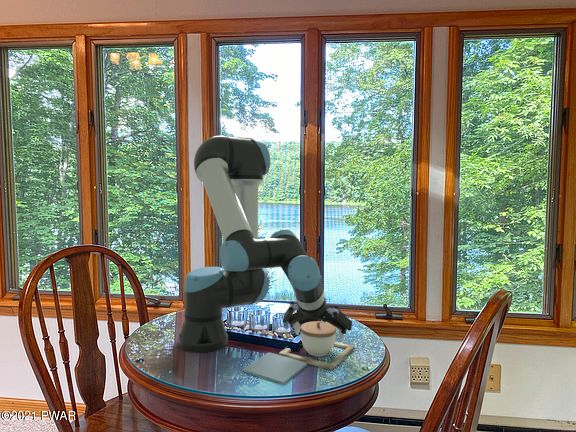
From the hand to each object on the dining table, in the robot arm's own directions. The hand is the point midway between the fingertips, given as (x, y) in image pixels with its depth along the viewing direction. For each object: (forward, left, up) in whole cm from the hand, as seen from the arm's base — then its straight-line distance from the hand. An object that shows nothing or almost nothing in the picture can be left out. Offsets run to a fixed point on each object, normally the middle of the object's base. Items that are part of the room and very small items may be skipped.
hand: (319, 333), depth 124 cm
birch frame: (0, -1, -5) cm, 5 cm away
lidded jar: (0, -1, -6) cm, 6 cm away
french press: (-15, +22, -6) cm, 27 cm away
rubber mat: (-5, -17, -5) cm, 19 cm away
